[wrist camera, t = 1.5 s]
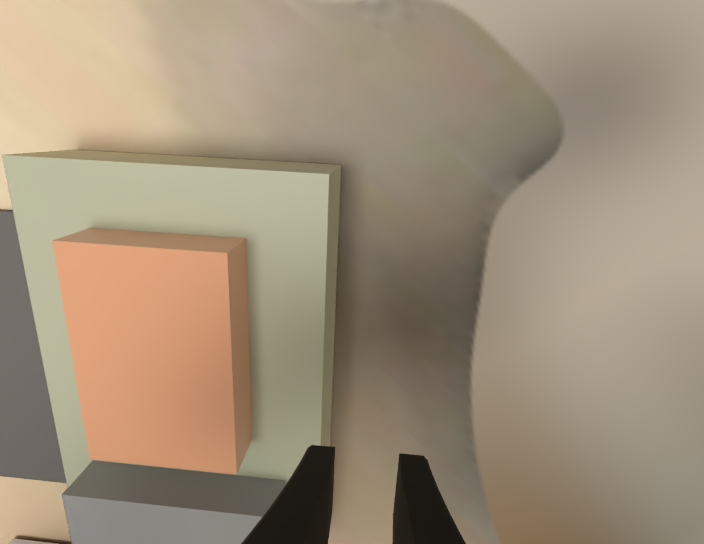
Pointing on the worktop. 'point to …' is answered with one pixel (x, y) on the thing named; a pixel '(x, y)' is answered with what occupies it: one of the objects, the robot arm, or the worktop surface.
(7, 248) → the mat
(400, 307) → the worktop surface
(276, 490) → the slate gray rectangular block
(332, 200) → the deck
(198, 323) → the peach rectangular tile
